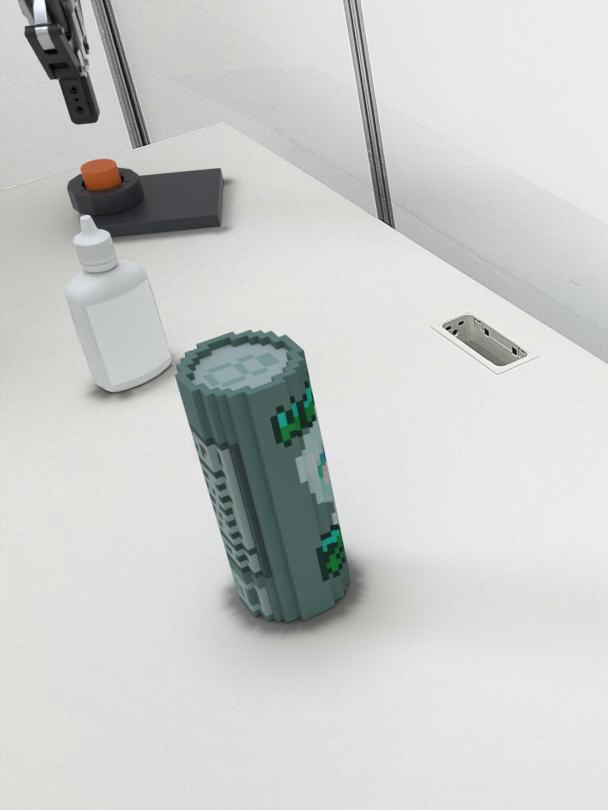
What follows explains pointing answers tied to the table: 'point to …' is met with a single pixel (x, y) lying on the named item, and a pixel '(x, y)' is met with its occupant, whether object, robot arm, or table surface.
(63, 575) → the table surface
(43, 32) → the robot arm
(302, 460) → the can
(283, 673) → the table surface
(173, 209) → the dark grey base plate
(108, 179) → the button
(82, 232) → the eye dropper bottle
